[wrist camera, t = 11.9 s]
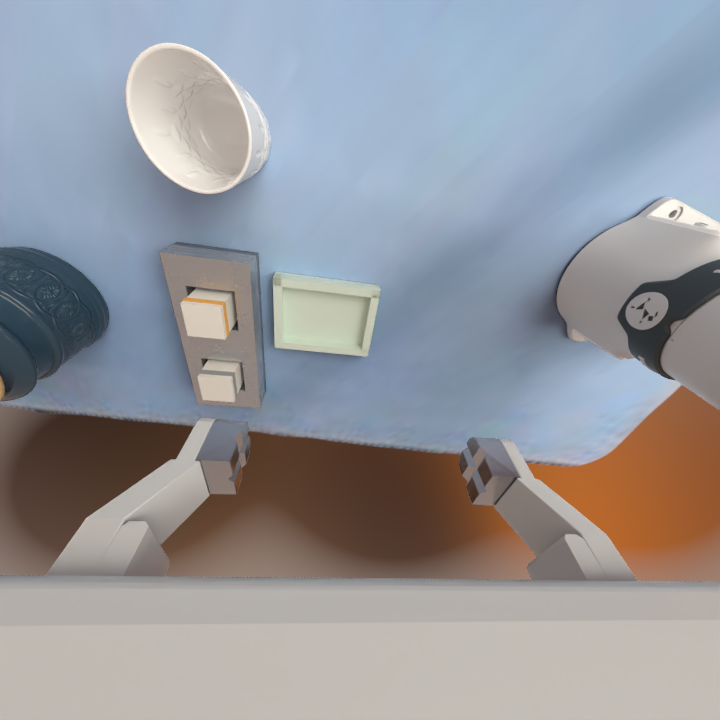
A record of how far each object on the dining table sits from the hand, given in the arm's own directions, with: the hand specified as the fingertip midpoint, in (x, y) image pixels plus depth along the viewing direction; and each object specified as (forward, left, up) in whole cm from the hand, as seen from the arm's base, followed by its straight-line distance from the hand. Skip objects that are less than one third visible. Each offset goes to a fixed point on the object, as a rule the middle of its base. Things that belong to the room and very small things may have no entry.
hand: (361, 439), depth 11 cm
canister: (+36, +12, -29) cm, 48 cm away
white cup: (+12, -8, -29) cm, 32 cm away
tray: (+2, +10, -29) cm, 30 cm away
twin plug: (+15, +19, -28) cm, 37 cm away
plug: (+15, +9, -28) cm, 33 cm away
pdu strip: (+15, +14, -29) cm, 35 cm away
